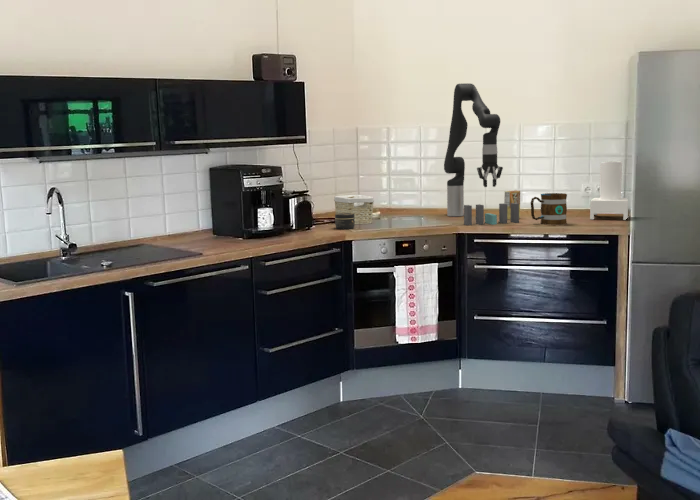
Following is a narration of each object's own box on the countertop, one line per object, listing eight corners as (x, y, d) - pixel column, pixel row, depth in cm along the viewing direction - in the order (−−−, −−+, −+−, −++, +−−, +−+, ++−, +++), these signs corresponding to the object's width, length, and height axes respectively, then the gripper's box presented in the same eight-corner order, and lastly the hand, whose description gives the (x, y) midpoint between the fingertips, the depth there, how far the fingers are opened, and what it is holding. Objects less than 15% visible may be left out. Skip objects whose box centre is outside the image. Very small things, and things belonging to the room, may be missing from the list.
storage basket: (333, 221, 445) (332, 195, 443) (361, 220, 449) (360, 194, 447) (346, 226, 422) (345, 198, 420) (375, 224, 427) (374, 196, 425)
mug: (558, 221, 419) (558, 192, 417) (572, 223, 406) (572, 194, 404) (524, 223, 414) (524, 194, 412) (537, 225, 401) (537, 196, 399)
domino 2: (479, 224, 412) (479, 205, 411) (475, 223, 417) (475, 204, 415) (483, 224, 413) (483, 205, 411) (480, 223, 417) (480, 204, 416)
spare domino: (492, 215, 410) (484, 213, 420) (492, 224, 411) (484, 223, 421) (496, 215, 411) (489, 213, 421) (496, 224, 412) (489, 222, 421)
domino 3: (502, 223, 415) (503, 204, 413) (499, 222, 420) (499, 203, 418) (507, 223, 415) (507, 204, 414) (503, 222, 420) (503, 203, 419)
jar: (348, 230, 402) (347, 215, 401) (331, 229, 407) (331, 214, 406) (358, 228, 410) (358, 213, 409) (342, 227, 416) (341, 212, 415)
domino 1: (467, 225, 411) (467, 205, 409) (463, 224, 416) (463, 205, 414) (471, 225, 411) (471, 205, 410) (468, 224, 416) (468, 204, 415)
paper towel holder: (590, 219, 426) (591, 162, 421) (593, 215, 443) (594, 161, 439) (627, 219, 419) (628, 162, 414) (629, 216, 436) (630, 161, 432)
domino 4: (514, 223, 416) (514, 203, 415) (510, 222, 421) (510, 203, 420) (518, 222, 417) (519, 203, 415) (515, 221, 421) (515, 202, 420)
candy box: (514, 218, 441) (514, 190, 439) (520, 218, 438) (520, 190, 435) (503, 219, 435) (503, 191, 433) (510, 219, 432) (510, 191, 430)
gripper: (499, 153, 416) (499, 186, 418) (474, 153, 413) (474, 187, 415) (505, 153, 409) (505, 186, 411) (479, 153, 406) (479, 187, 408)
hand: (489, 186), depth 413 cm, fingers open, 4 cm apart
